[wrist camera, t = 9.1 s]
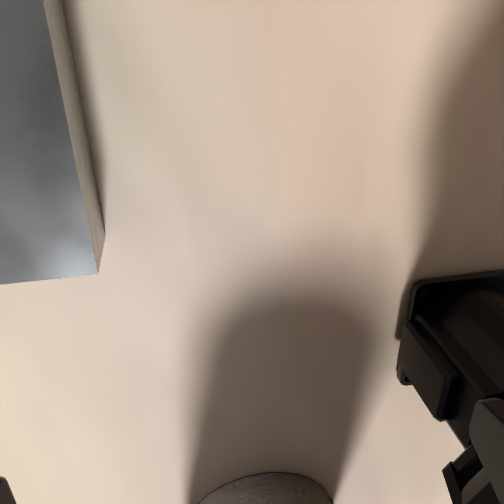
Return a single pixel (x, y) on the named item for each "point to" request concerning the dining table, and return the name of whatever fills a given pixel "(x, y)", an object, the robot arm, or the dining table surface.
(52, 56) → the grey slotted plate
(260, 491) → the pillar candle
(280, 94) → the dining table surface
